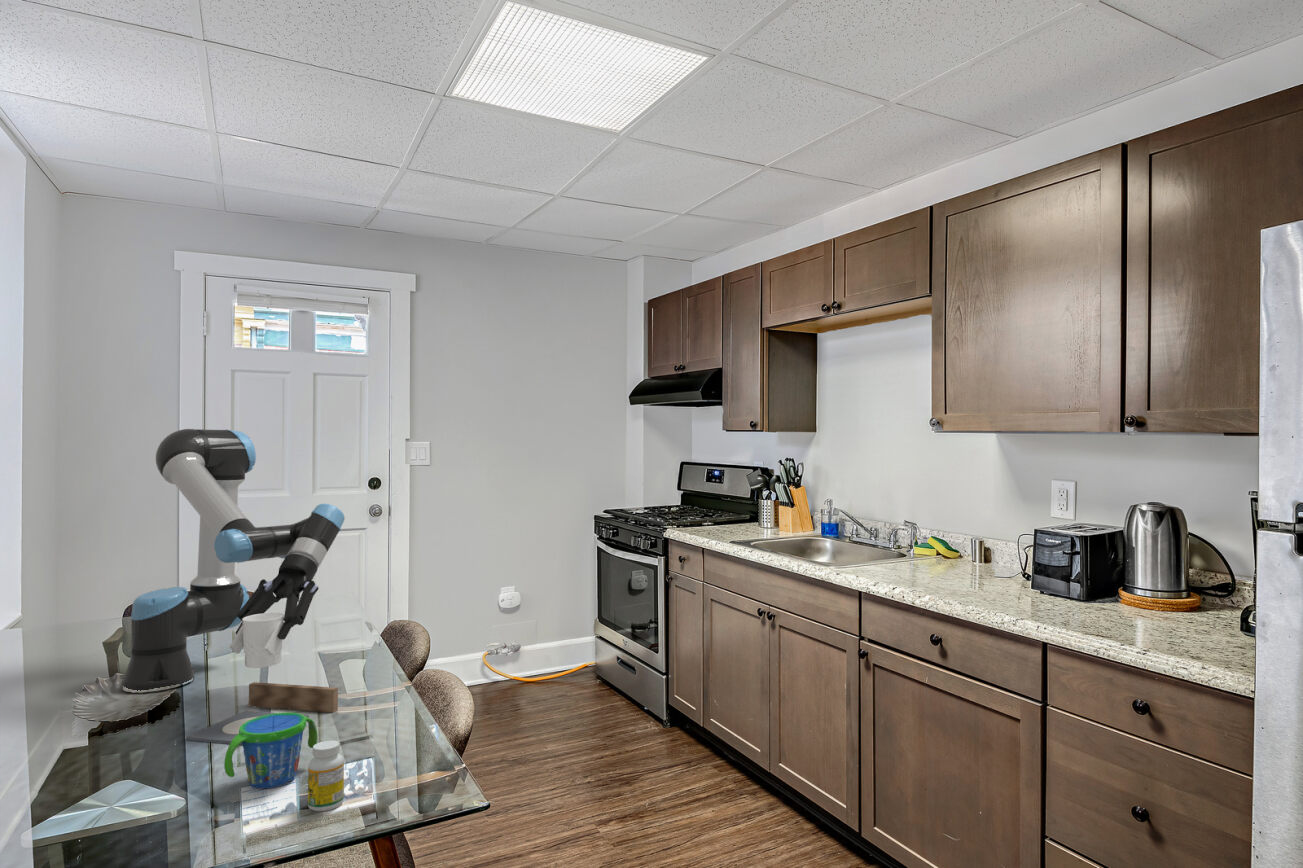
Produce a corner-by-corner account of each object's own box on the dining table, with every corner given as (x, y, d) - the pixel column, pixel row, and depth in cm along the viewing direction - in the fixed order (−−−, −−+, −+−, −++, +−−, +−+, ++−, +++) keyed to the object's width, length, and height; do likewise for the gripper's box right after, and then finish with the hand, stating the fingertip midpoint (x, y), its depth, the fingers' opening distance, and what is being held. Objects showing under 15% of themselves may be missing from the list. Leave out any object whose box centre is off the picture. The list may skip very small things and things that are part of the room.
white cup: (266, 669, 153) (266, 621, 154) (233, 668, 155) (233, 620, 155) (291, 659, 161) (291, 613, 161) (259, 657, 163) (259, 612, 163)
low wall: (248, 706, 169) (249, 684, 169) (253, 704, 171) (253, 682, 171) (333, 712, 164) (333, 689, 165) (337, 710, 166) (337, 687, 166)
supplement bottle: (344, 808, 119) (344, 748, 119) (307, 815, 117) (307, 753, 117) (343, 794, 124) (343, 736, 124) (308, 801, 122) (308, 741, 122)
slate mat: (186, 740, 149) (186, 736, 149) (246, 713, 164) (246, 709, 164) (254, 746, 145) (254, 742, 145) (308, 718, 161) (308, 714, 161)
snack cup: (237, 806, 120) (237, 742, 120) (212, 788, 127) (213, 728, 127) (330, 774, 132) (331, 716, 132) (303, 759, 139) (304, 704, 139)
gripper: (349, 572, 171) (303, 662, 155) (271, 570, 175) (219, 658, 159) (334, 552, 166) (285, 643, 150) (255, 551, 170) (199, 639, 154)
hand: (251, 650), depth 155 cm, fingers closed on white cup, 8 cm apart
